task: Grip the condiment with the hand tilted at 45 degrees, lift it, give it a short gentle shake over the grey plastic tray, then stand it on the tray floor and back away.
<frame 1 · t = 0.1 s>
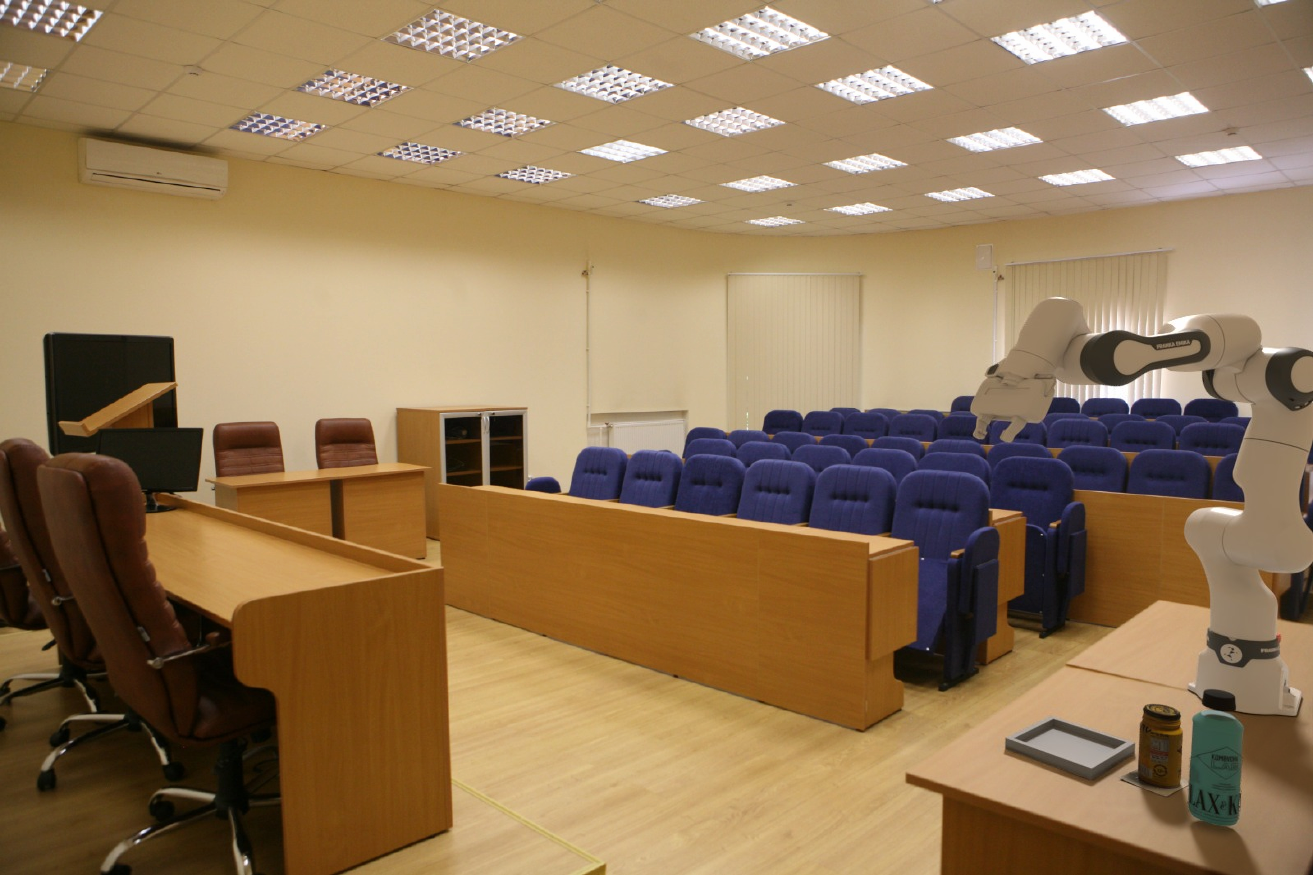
hand: (990, 439, 157), 54 cm above the table, tool tilted 30°, fingers open, 8 cm apart
condiment: (1155, 782, 136), on the table
beverage bottle: (1213, 826, 122), on the table
tray: (1069, 751, 147), on the table
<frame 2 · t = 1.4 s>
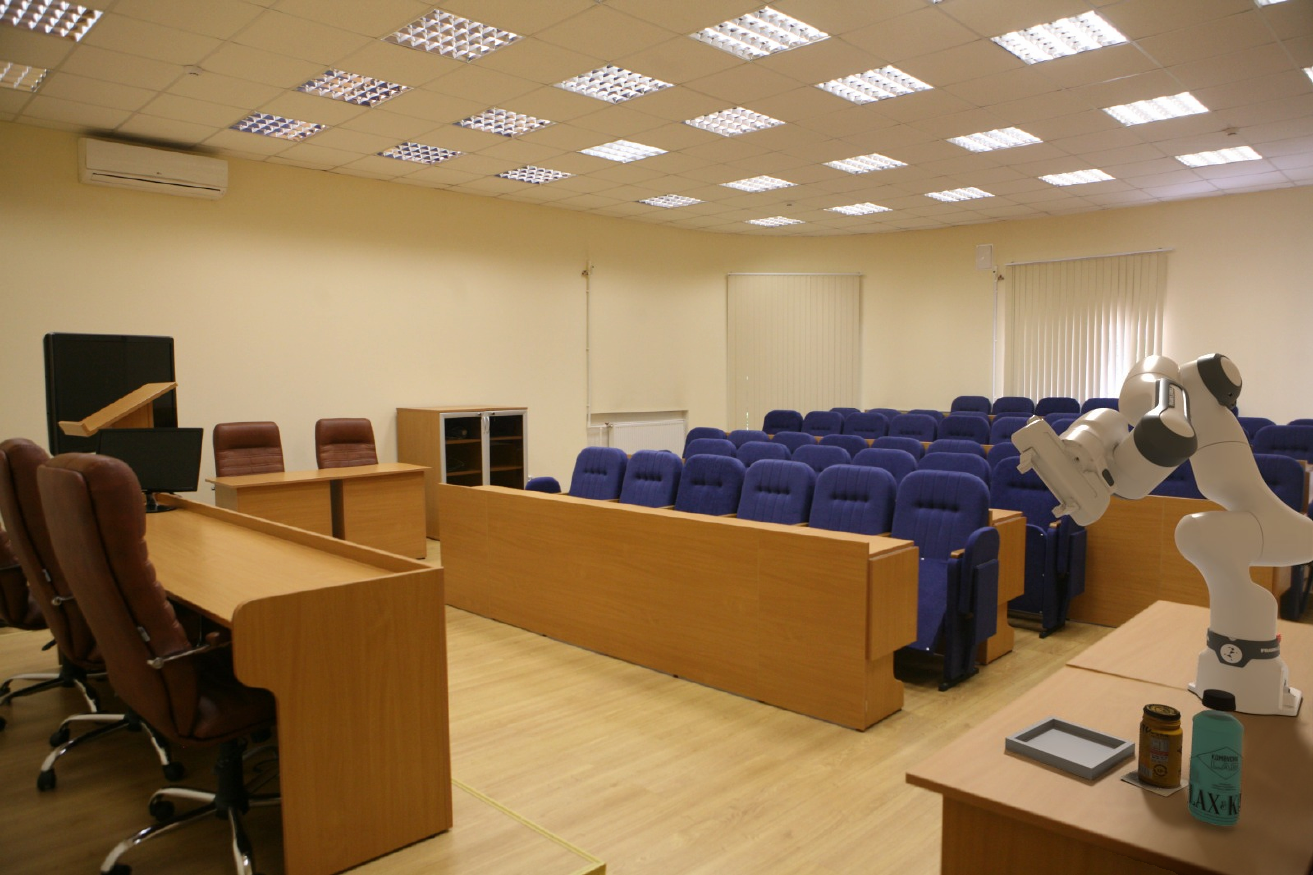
hand: (1039, 491, 144), 46 cm above the table, tool tilted 70°, fingers open, 8 cm apart
nothing on the table moved.
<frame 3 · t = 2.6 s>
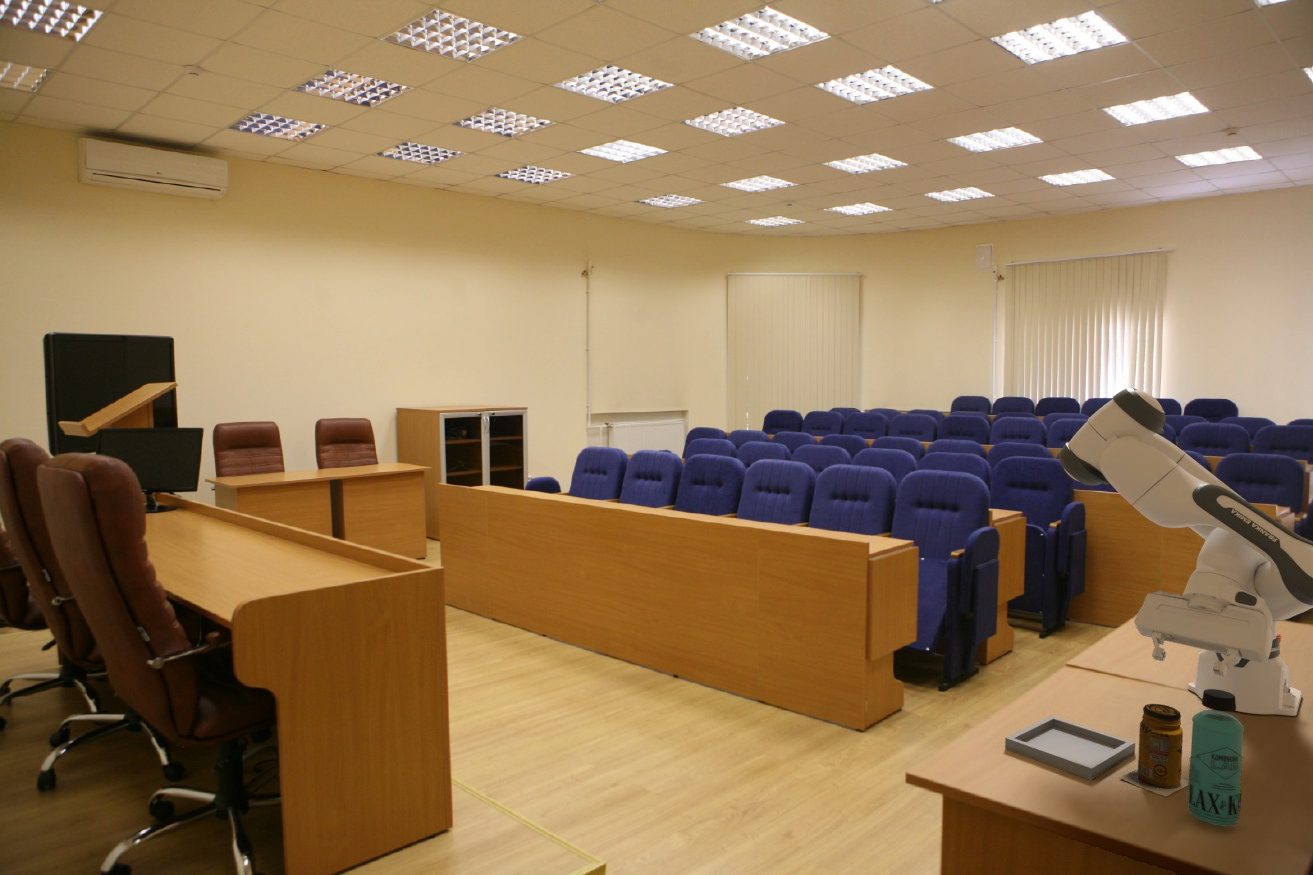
hand: (1187, 666, 142), 16 cm above the table, tool tilted 45°, fingers open, 8 cm apart
nothing on the table moved.
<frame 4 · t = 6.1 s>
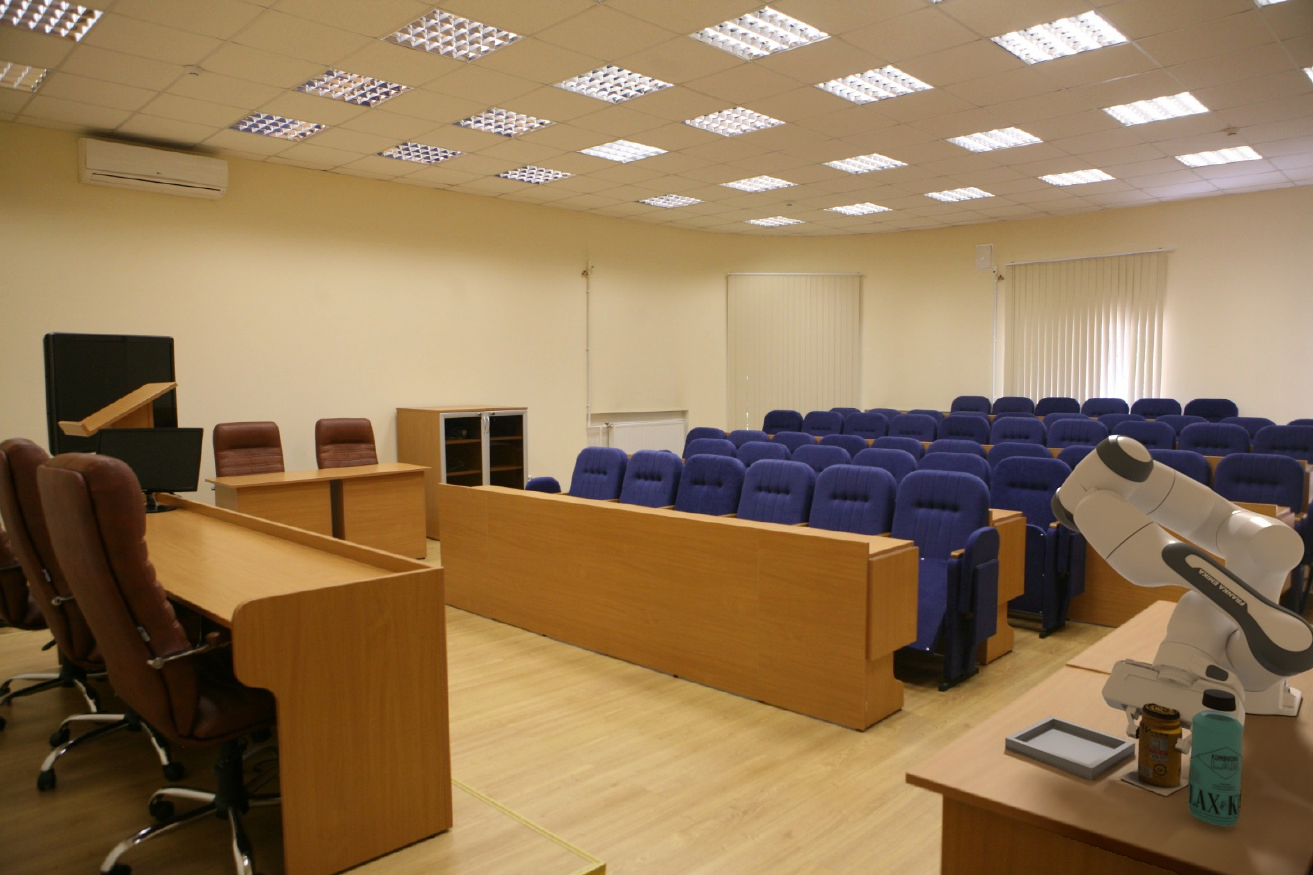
hand: (1155, 744, 135), 6 cm above the table, tool tilted 45°, fingers closed on condiment, 6 cm apart
condiment: (1155, 782, 136), on the table, touching gripper
everything else where it was.
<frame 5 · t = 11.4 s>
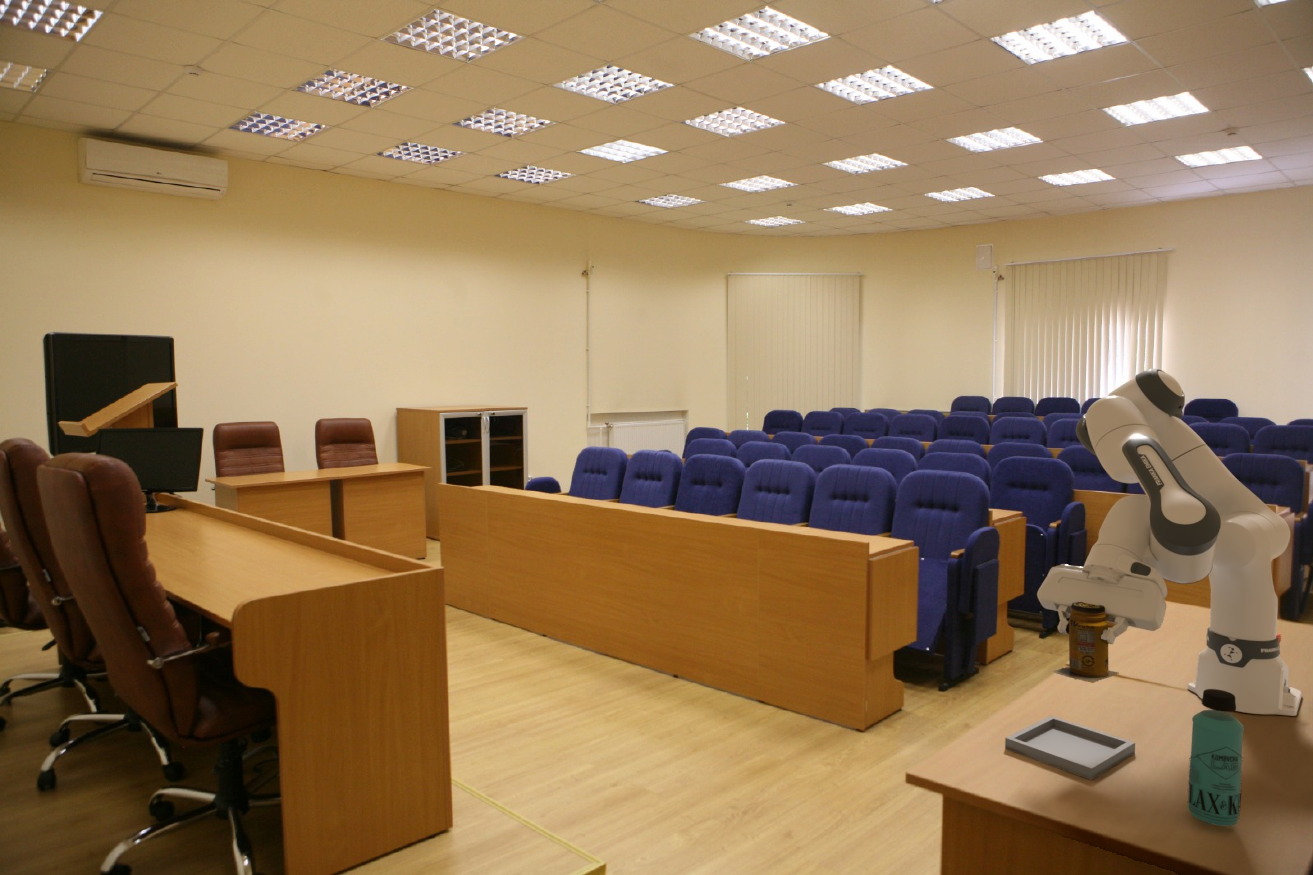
hand: (1084, 636, 143), 21 cm above the table, tool tilted 45°, fingers closed on condiment, 6 cm apart
condiment: (1085, 674, 144), point 14 cm above the table, touching gripper
everything else where it was.
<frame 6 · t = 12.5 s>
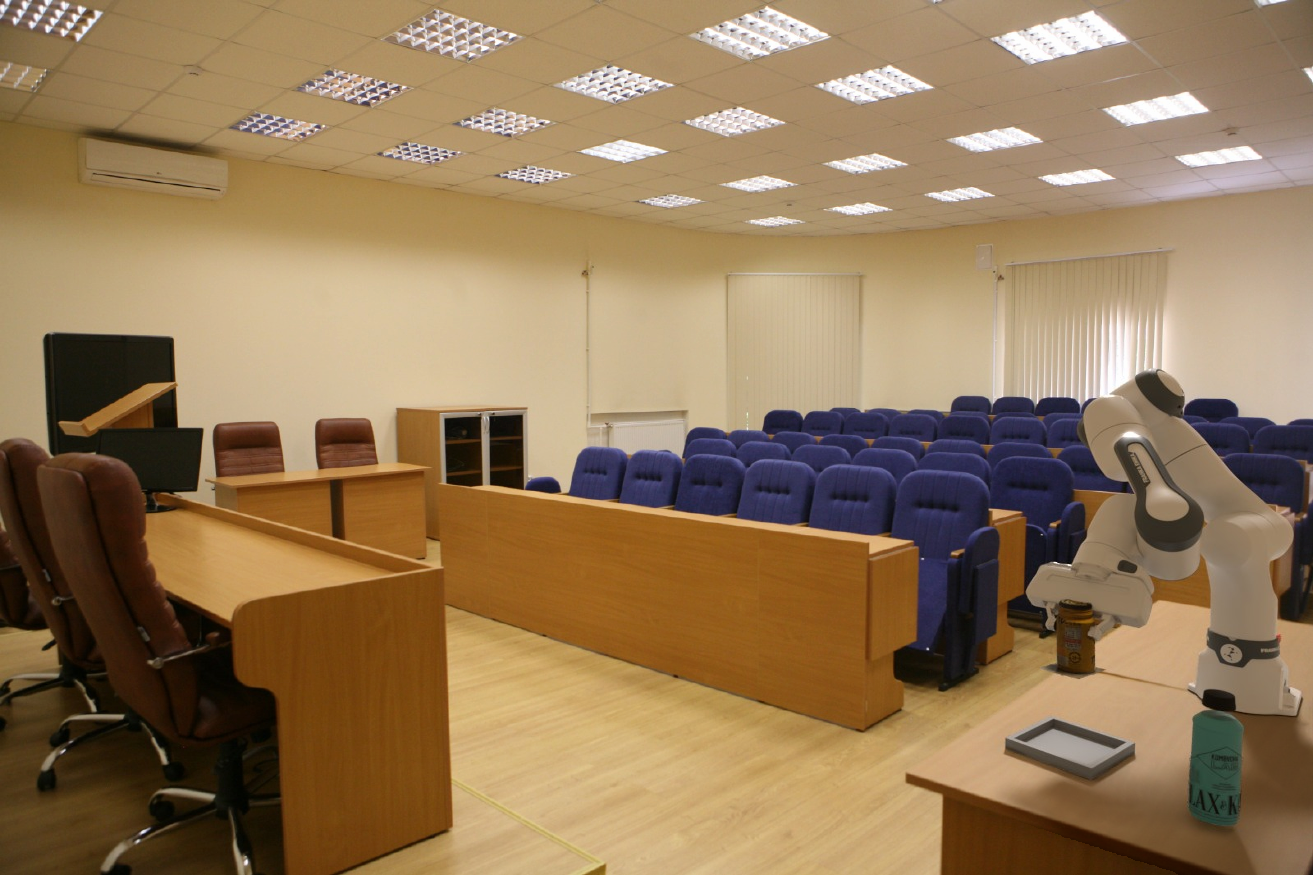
hand: (1071, 633, 145), 21 cm above the table, tool tilted 45°, fingers closed on condiment, 6 cm apart
condiment: (1072, 671, 146), point 14 cm above the table, touching gripper
everything else where it was.
when the fingers open (8 cm above the table, at t = 16.6 s): condiment stays where it is, resting on tray.
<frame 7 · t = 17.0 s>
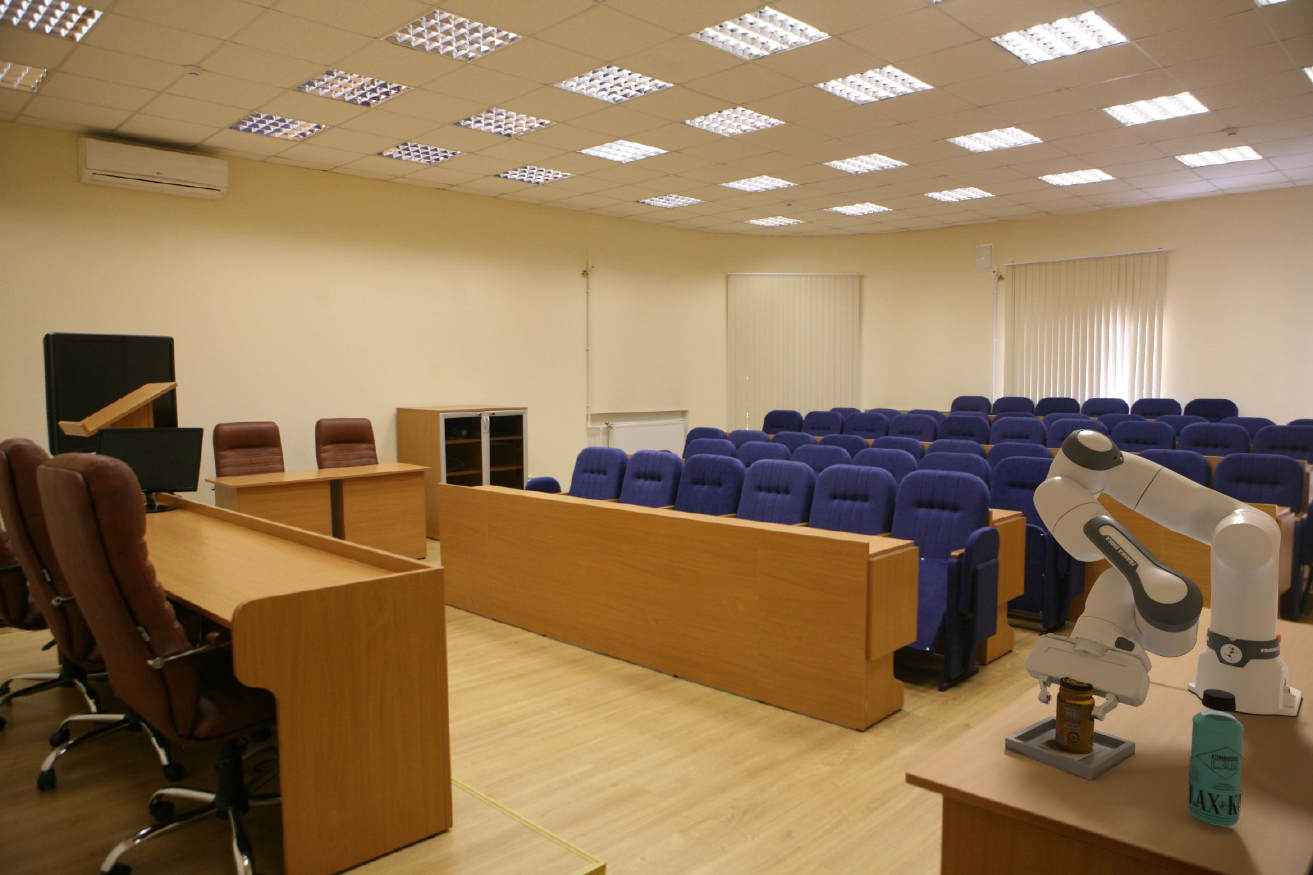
hand: (1069, 709, 146), 8 cm above the table, tool tilted 45°, fingers open, 8 cm apart
condiment: (1070, 749, 147), resting on tray
everything else where it was.
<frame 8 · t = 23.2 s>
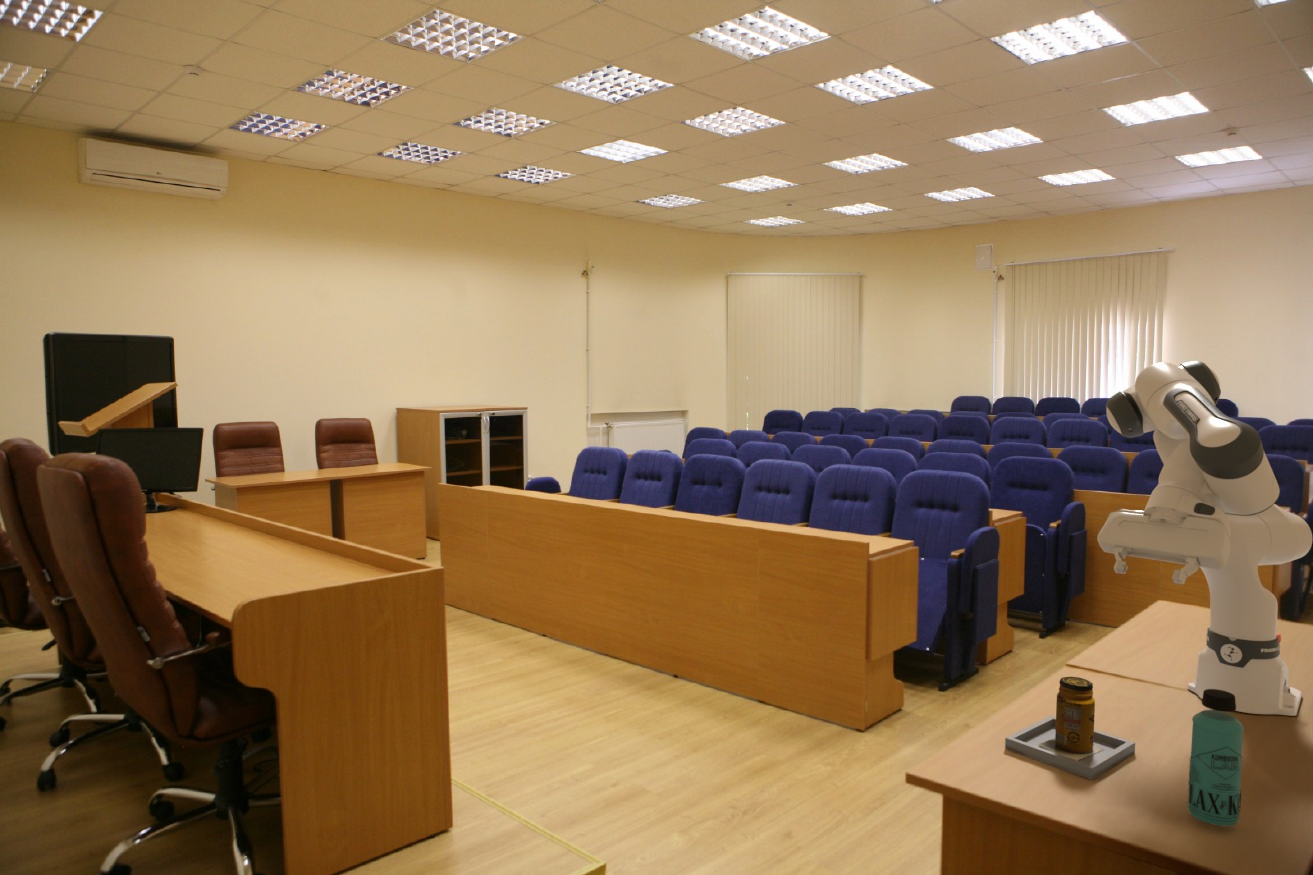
hand: (1147, 576, 144), 31 cm above the table, tool tilted 45°, fingers open, 8 cm apart
nothing on the table moved.
at the end: condiment inside the target area on the tray (0.1 cm from its centre), point 0.4 cm above the tray's base; condiment tilted 0°; the gripper is holding nothing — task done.
